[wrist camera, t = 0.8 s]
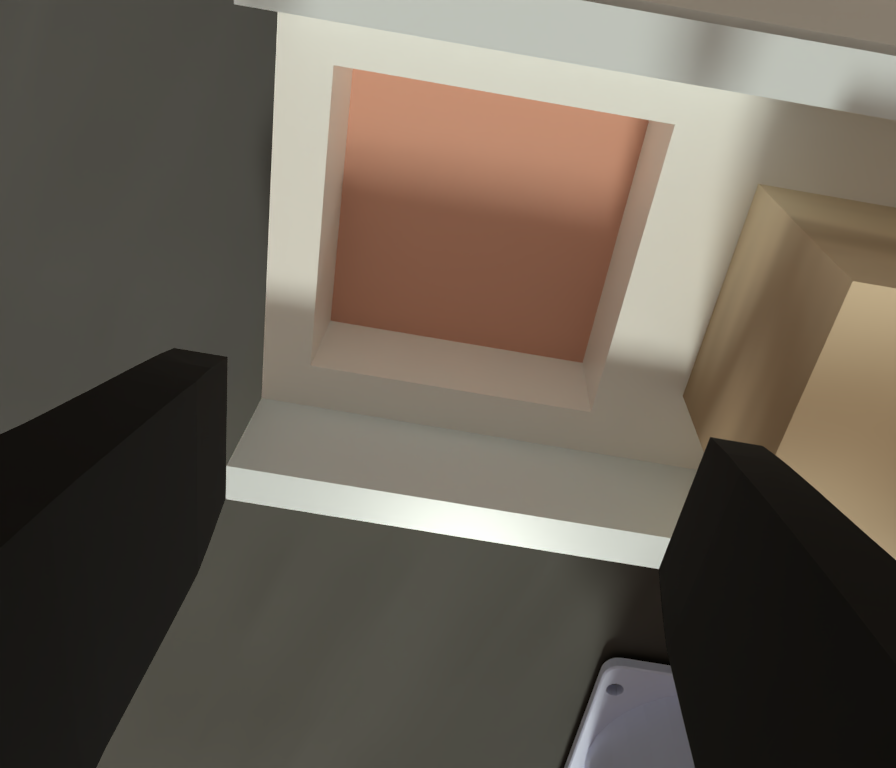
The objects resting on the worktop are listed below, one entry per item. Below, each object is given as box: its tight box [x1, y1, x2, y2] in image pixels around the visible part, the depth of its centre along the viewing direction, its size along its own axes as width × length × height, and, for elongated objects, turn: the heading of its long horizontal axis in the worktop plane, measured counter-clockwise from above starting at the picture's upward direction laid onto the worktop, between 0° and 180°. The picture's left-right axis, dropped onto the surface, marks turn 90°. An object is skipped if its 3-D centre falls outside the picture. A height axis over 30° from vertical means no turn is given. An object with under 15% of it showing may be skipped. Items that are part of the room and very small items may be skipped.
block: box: [683, 184, 896, 560], centre depth 13 cm, size 4×4×4 cm
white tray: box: [226, 0, 896, 569], centre depth 15 cm, size 11×22×5 cm, turn 81°
